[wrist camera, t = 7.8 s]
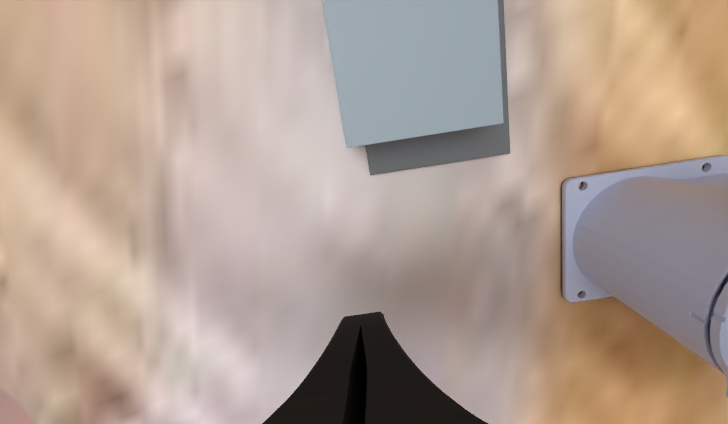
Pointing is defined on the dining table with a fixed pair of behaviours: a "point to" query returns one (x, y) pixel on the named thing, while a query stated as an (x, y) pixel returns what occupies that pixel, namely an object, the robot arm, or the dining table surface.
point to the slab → (414, 66)
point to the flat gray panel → (447, 137)
